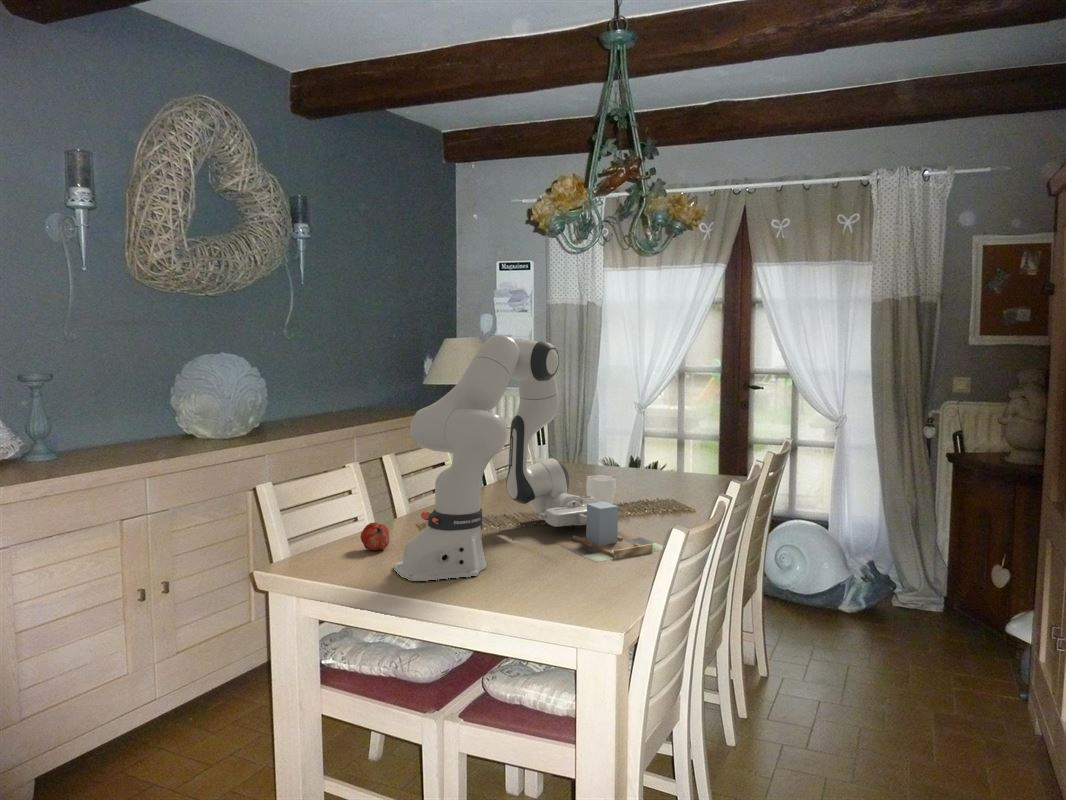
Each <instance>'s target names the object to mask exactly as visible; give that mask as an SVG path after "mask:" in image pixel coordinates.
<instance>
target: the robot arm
mask: <svg viewBox="0 0 1066 800" xmlns="http://www.w3.org/2000/svg"><path fill="white" fill-rule="evenodd" d="M559 365H560V355H559V352H558V350H557V348H556V347H555V345H554V344H552V343H549V342H547V341H543V340H539V341H536V340H531V339H530V340H529V339H523V338H511V337H509V336H507V335H505V334H495V335H492V336H490V337H489V338H488V339H487V340H485V342H484V343H483V344H482V346H481V347H479V349H478V351H477V352H476V353H475V355H474V356H473V359H472V360H471V361H470V364H468V367H467V369H465V372H463V375H462V376H461V378H460V380H459V381H458V382H457V383H456V385H455V386H453V388H451V390H449V391H448V392H447V393H446V394H445V395H444V396H443V397H441V398H439V399H438V400H437V401H435V402H434V403H432V404H430V405H427V406H425V407H423V408H421V409H419V410H417V411H416V412H415V413H414V415H413V417H412V419H411V422H410V435H411V438H412V439H413V442H414V443H415V444H416V445H418V446H419V447H421V448H425V449H427V450H430V451H434V452H440V453H448V454H449V453H450V454H452V455H453V456H452V457H453V458H452V462H451V465H450V467H448V468H446V469H445V470H443V471H441V472H440V473H439V474H438V475H437V476H436V479H435V482H434V490H435V491H434V494H435V495H434V497H435V498H434V509H433V511H431V513H430V512H429V511H427V510H422V511H421V513H420V518H421V519H423V520H424V521H427V526H425V528H423V529H422V530H421V531H419V533H418V534H416V535H415V536H414V537H412V538H411V539H410V540H409V541H408V542H407V543H406V544H405V547H404V552H403V557H402V560H401V561H397V562H395V563H394V565H393V571H394V570H395V571H396V572H397V573H398V574H399V575H401V576H403V577H404V578H406V579H410V580H414V581H426V582H429V581H428V580H436V581H440V580H439V579H446V580H451V579H450V578H456V579H460V578H459V577H466V578H472V577H471V576H475V577H477V576H478V575H479V574H480V572H482V571H483V570H485V569H486V568H487V566H488V564H487V561H486V557H485V553H484V547H483V540H482V538H483V537H482V530H483V509H482V507H481V500H482V499H481V498H482V497H481V495H482V483H483V482H482V481H483V476H484V473H485V471H486V469H487V466H488V464H489V463H490V461H491V460H492V459H493V458H494V457H495V456H497V455H498V454H499V453H500V452H501V451H502V450H503V448H504V447H505V445H506V443H507V441H508V433H509V432H508V427H507V424H506V421H505V420H504V419H503V417H502V416H500V415H498V414H496V413H492V412H490V411H491V410H493V409H494V408H496V406H497V405H499V403H500V402H501V400H502V397H503V396H504V393H505V391H506V389H507V388H508V386H509V384H510V382H511V380H516V381H518V395H519V404H518V409H517V412H516V415H515V416H514V418H513V419H512V420H511V424H510V434H509V449H508V452H509V453H508V454H509V455H508V470H507V476H506V482H505V487H506V491H507V494H508V496H509V497H510V498H511V500H513V501H515V502H517V503H519V504H521V505H526V504H528V503H529V504H530V507H532V509H533V510H534V511H535V512H536V513H537V514H539V517H540V518H543V519H544V521H545V523H547V524H548V525H549V526H552V527H556V528H558V527H560V528H561V527H572V526H574V525H580V524H587V504H591V503H598V502H602V501H598V500H595V498H594V497H591V496H587V495H575V494H570V493H568V492H569V490H570V489H569V488H570V487H569V486H570V476H569V472H568V471H569V470H568V469H567V468H566V466H565V465H564V464H563V463H562V462H561V461H560V460H558V459H556V458H554V457H550V458H546V459H544V460H541V461H538V462H536V463H533V464H530V465H528V453H529V445H530V441H531V440H532V438H533V437H534V436H535V435H536V433H538V432H539V431H541V429H542V428H543V427H545V426H547V425H548V424H549V423H550V422H552V420H553V419H554V418H555V416H556V415H557V413H558V411H559V407H560V399H559V389H558V381H557V377H556V373H558V369H559ZM395 571H394V572H395ZM396 572H395V573H396ZM398 574H397V575H398ZM399 575H398V576H399ZM404 578H403V579H404ZM448 578H449V579H448ZM406 579H405V580H406ZM437 579H438V580H437Z"/></svg>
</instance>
